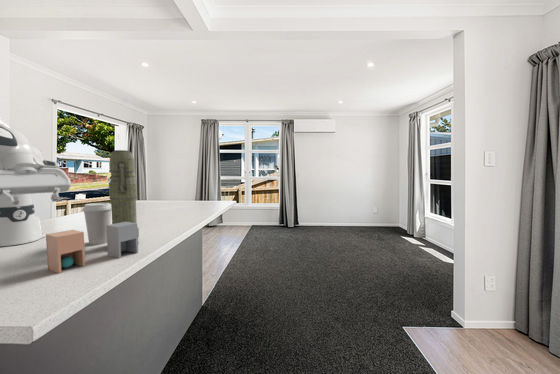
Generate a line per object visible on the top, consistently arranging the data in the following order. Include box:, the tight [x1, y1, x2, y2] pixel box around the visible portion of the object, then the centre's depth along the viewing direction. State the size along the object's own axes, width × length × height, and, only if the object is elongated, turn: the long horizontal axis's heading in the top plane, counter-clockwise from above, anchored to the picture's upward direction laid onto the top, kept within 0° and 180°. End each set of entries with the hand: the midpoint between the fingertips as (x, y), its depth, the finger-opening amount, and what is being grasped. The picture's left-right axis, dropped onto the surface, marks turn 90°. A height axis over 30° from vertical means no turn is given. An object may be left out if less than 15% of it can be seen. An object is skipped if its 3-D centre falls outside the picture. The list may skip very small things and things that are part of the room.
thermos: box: [108, 149, 140, 244], centre depth 97 cm, size 9×12×35 cm
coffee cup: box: [82, 202, 112, 246], centre depth 101 cm, size 10×10×15 cm
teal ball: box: [61, 256, 74, 269], centre depth 75 cm, size 3×3×3 cm
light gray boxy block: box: [106, 222, 139, 259], centre depth 87 cm, size 6×6×10 cm
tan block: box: [45, 229, 86, 274], centre depth 75 cm, size 6×6×10 cm
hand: (36, 201), depth 79 cm, fingers open, 8 cm apart
